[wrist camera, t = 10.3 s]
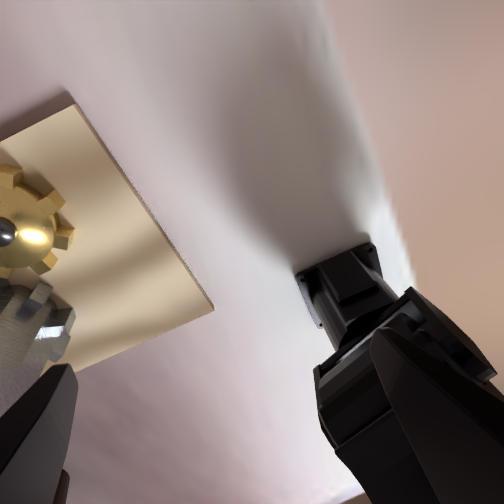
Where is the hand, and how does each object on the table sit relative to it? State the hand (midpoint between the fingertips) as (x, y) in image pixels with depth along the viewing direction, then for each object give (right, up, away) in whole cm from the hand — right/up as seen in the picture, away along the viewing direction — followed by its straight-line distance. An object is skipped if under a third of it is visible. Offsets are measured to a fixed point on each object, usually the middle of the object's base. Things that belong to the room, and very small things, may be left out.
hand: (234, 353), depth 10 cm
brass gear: (-14, +5, +9) cm, 17 cm away
